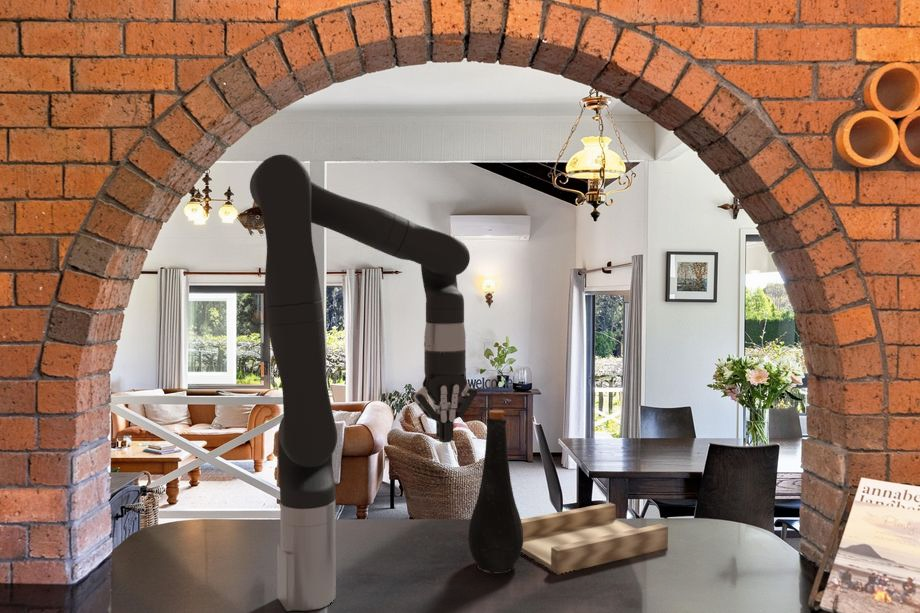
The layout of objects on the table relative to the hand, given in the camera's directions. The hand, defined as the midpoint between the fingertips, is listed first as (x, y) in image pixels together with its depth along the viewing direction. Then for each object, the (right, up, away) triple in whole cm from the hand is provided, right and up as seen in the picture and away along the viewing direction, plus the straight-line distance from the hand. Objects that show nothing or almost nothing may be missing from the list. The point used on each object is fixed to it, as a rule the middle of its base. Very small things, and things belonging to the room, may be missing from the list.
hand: (445, 441), depth 134 cm
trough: (+29, -25, +17) cm, 42 cm away
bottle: (+10, -25, +6) cm, 28 cm away
